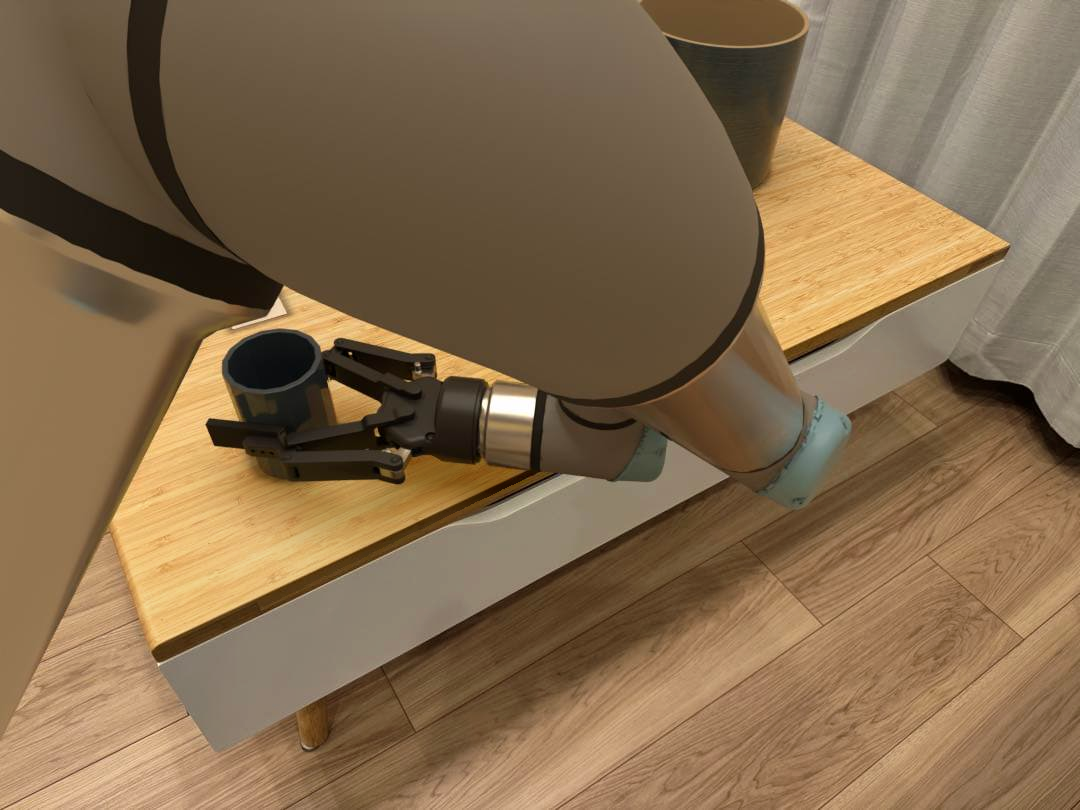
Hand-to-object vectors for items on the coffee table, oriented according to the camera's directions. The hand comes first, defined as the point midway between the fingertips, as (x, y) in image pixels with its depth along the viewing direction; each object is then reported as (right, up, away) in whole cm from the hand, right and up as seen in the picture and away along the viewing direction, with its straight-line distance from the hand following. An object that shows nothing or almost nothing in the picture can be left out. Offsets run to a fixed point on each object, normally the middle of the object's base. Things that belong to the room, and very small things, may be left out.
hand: (232, 396), depth 69 cm
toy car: (-6, +11, +20) cm, 23 cm away
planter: (+50, +35, +44) cm, 75 cm away
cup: (+5, -5, +4) cm, 8 cm away
